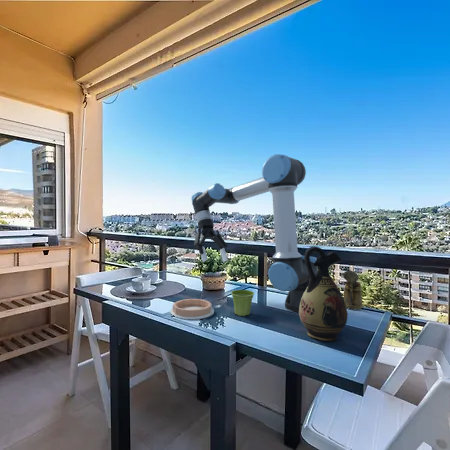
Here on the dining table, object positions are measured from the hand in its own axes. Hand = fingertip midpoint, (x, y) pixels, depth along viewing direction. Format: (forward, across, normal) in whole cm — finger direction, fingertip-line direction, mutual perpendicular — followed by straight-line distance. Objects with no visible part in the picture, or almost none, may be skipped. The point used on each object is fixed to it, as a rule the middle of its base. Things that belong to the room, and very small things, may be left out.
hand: (215, 261), depth 138 cm
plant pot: (+27, +4, +10) cm, 29 cm away
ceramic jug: (+43, +1, +38) cm, 57 cm away
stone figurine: (+37, -36, +37) cm, 64 cm away
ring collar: (+21, +17, -4) cm, 27 cm away
